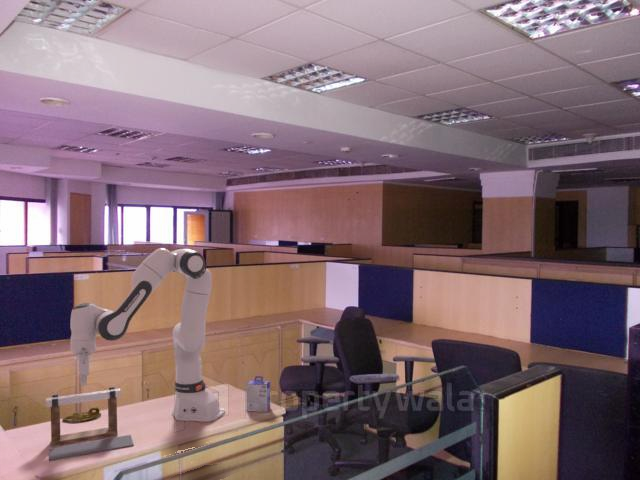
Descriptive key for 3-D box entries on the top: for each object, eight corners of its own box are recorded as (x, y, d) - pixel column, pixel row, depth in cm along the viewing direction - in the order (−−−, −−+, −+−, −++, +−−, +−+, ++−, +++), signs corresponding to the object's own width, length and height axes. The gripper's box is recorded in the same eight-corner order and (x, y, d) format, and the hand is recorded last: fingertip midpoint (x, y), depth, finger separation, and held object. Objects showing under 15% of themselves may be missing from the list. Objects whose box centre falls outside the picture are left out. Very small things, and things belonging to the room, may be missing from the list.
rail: (120, 394, 207) (119, 388, 207) (120, 396, 204) (120, 390, 204) (46, 404, 195) (46, 398, 195) (46, 407, 193) (45, 400, 193)
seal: (62, 428, 213) (101, 422, 219) (61, 417, 212) (101, 411, 219) (62, 418, 221) (100, 412, 228) (62, 407, 221) (100, 402, 227)
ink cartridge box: (271, 408, 231) (270, 375, 231) (267, 412, 226) (267, 379, 225) (249, 406, 233) (249, 375, 233) (246, 411, 228) (245, 378, 227)
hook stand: (116, 429, 208) (115, 386, 207) (117, 435, 202) (116, 390, 202) (51, 440, 198) (50, 395, 197) (51, 446, 192) (50, 400, 192)
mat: (130, 435, 202) (130, 434, 202) (133, 445, 193) (133, 444, 193) (49, 450, 189) (49, 448, 189) (48, 461, 180) (48, 459, 180)
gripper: (93, 351, 191) (93, 388, 191) (91, 339, 209) (91, 373, 210) (74, 352, 188) (74, 390, 189) (73, 341, 207) (74, 375, 207)
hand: (83, 381), depth 199 cm, fingers open, 8 cm apart
